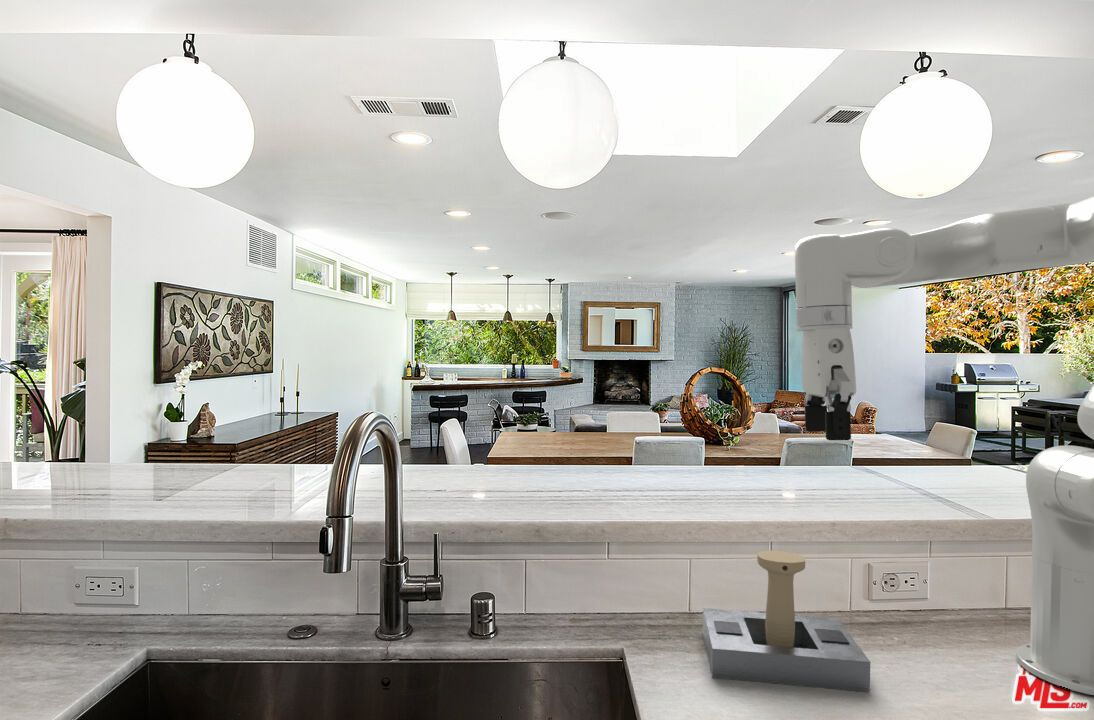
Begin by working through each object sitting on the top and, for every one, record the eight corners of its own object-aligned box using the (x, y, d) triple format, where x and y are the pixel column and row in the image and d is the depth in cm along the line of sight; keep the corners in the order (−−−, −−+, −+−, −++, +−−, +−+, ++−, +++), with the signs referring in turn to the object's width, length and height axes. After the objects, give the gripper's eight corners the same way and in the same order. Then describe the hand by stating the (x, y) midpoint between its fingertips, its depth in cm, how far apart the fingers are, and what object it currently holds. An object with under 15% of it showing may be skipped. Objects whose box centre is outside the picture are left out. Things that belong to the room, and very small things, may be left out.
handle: (807, 671, 83) (809, 563, 83) (759, 666, 84) (761, 561, 84) (798, 653, 88) (799, 552, 88) (753, 650, 89) (754, 549, 89)
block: (837, 644, 91) (838, 616, 91) (869, 692, 78) (870, 660, 78) (702, 633, 94) (702, 606, 94) (712, 677, 81) (712, 646, 81)
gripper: (874, 315, 79) (877, 443, 79) (830, 322, 96) (833, 427, 96) (815, 317, 80) (818, 444, 80) (782, 324, 97) (785, 428, 98)
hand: (826, 435), depth 88 cm, fingers open, 9 cm apart
